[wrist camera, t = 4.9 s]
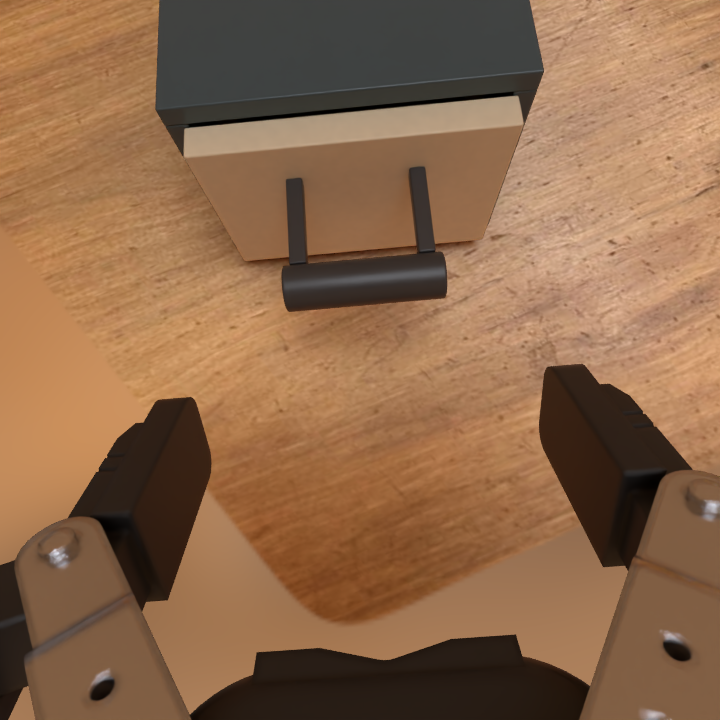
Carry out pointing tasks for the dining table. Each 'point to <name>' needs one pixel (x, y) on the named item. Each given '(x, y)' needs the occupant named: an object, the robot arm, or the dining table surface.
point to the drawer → (358, 191)
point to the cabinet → (337, 56)
